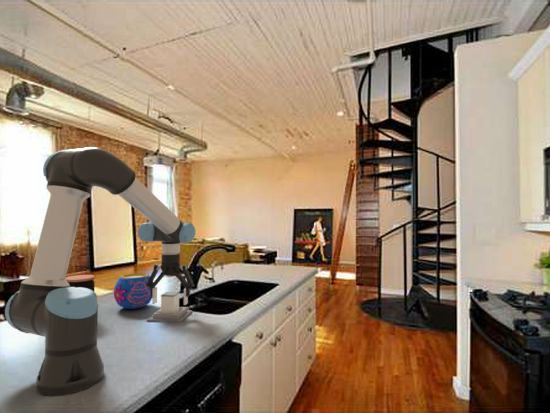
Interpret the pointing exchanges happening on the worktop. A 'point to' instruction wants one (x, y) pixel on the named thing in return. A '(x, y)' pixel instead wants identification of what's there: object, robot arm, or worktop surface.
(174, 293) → the plug block
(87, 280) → the coffee jar
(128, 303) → the ceramic pot
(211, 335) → the worktop surface
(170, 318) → the socket plate
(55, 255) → the robot arm
